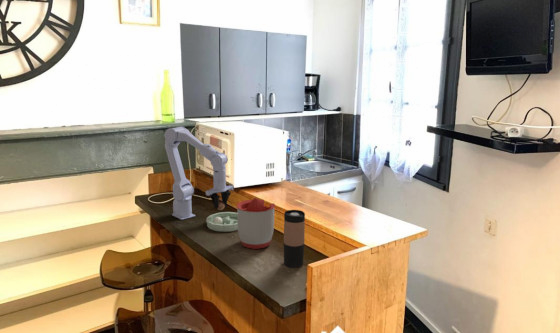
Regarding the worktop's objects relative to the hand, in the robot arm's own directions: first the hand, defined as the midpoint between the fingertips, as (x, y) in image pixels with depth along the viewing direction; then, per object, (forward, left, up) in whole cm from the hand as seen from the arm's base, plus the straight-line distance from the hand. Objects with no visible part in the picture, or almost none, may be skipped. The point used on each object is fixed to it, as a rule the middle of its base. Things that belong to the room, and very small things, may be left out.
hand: (220, 207), depth 192 cm
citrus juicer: (+31, -4, -8) cm, 32 cm away
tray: (+5, 0, -7) cm, 9 cm away
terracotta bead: (0, 0, -1) cm, 1 cm away
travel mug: (+54, -6, -8) cm, 55 cm away
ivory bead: (+5, -5, -7) cm, 9 cm away
